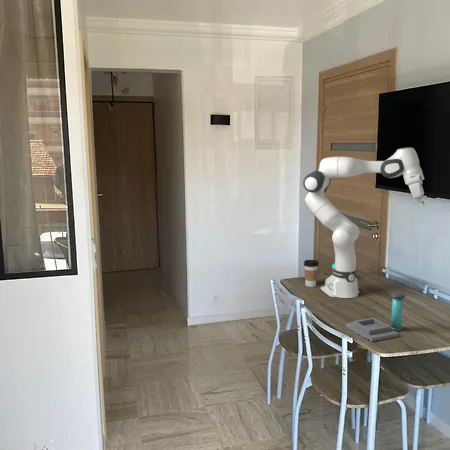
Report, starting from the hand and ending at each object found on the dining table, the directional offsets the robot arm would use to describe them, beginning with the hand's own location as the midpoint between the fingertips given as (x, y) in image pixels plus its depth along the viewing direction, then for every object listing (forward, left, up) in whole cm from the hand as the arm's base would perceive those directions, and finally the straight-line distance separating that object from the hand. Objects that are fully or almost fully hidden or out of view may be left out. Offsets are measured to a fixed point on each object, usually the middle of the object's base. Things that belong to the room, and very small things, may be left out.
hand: (422, 205), depth 230 cm
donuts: (-54, -8, -52) cm, 75 cm away
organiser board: (+18, -42, -51) cm, 69 cm away
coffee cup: (-52, -30, -52) cm, 79 cm away
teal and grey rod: (+20, -30, -51) cm, 63 cm away
